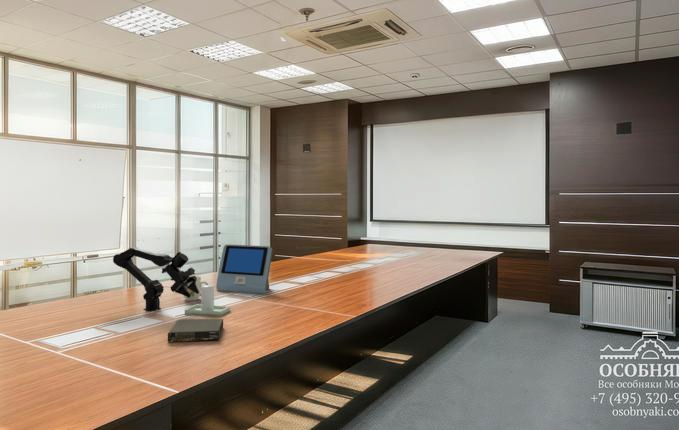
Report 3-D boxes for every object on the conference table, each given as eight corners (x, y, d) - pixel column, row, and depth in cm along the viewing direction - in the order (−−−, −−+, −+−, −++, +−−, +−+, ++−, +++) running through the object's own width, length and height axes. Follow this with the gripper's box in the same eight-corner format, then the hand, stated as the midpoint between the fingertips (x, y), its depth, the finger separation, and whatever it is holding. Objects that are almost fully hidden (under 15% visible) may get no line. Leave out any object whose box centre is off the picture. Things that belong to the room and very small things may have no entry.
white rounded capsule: (202, 312, 239) (203, 287, 238) (200, 310, 244) (200, 285, 244) (215, 311, 242) (215, 286, 242) (212, 308, 247) (212, 284, 247)
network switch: (166, 345, 190) (166, 333, 189) (170, 330, 212) (170, 319, 212) (224, 341, 196) (224, 330, 196) (222, 326, 219) (222, 316, 218)
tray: (184, 314, 239) (184, 309, 239) (195, 308, 251) (195, 304, 251) (220, 316, 236) (220, 311, 235) (230, 310, 247) (230, 306, 247)
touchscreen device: (214, 291, 298) (215, 245, 298) (230, 286, 317) (231, 243, 317) (263, 295, 288) (264, 247, 288) (276, 290, 307) (277, 245, 307)
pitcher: (205, 301, 268) (205, 278, 268) (175, 301, 268) (175, 278, 268) (211, 297, 279) (211, 275, 279) (181, 297, 279) (181, 274, 279)
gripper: (176, 266, 235) (196, 288, 234) (193, 261, 253) (212, 281, 252) (161, 280, 237) (181, 302, 235) (180, 274, 255) (198, 295, 254)
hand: (194, 295), depth 244 cm, fingers open, 9 cm apart
